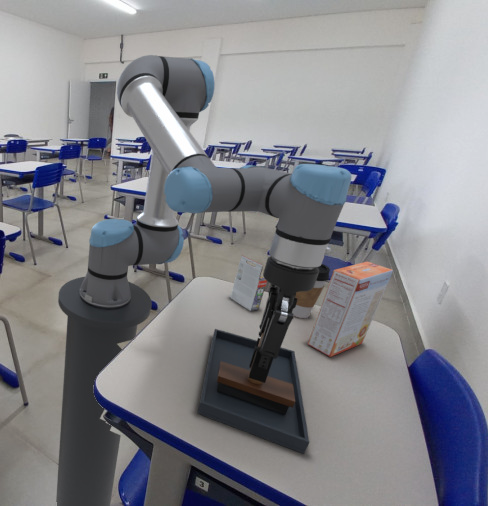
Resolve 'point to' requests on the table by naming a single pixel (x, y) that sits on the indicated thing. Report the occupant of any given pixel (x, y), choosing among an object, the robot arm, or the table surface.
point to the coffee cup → (311, 294)
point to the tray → (245, 413)
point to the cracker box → (349, 307)
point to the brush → (255, 388)
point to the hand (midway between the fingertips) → (257, 373)
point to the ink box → (248, 285)
